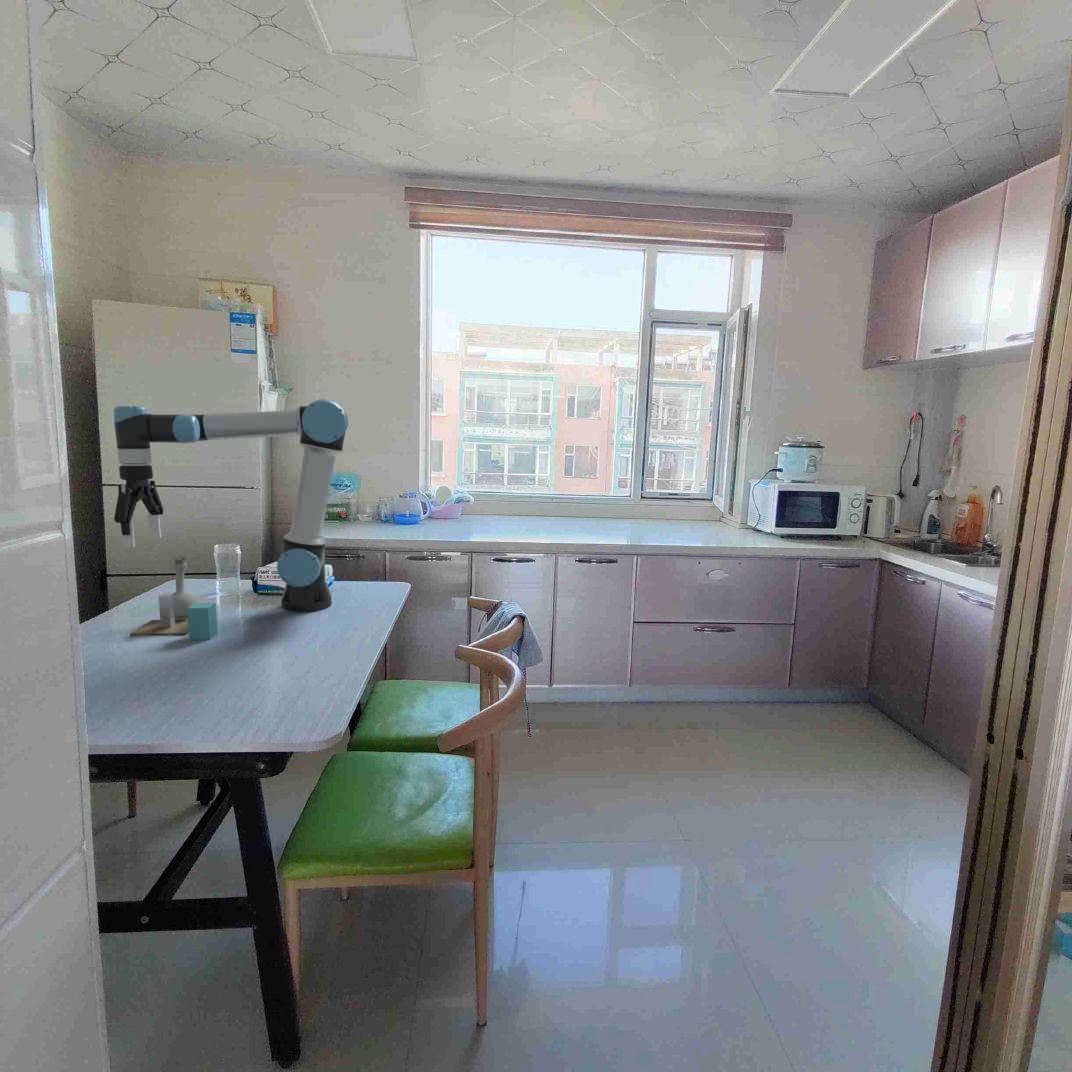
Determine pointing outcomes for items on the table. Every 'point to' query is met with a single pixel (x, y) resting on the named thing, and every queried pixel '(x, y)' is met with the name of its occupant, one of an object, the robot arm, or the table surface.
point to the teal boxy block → (202, 621)
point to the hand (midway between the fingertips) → (142, 542)
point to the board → (161, 629)
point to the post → (166, 610)
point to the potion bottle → (181, 591)
